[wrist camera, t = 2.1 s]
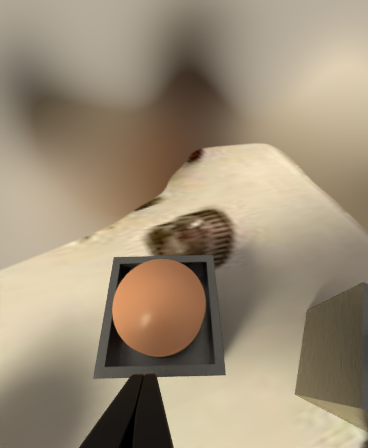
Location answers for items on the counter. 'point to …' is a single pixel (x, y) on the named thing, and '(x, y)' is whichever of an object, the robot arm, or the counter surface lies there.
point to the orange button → (159, 308)
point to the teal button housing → (337, 356)
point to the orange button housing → (170, 366)
